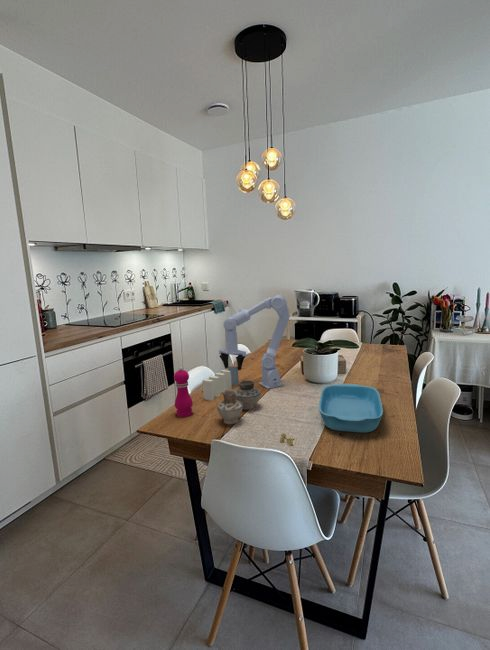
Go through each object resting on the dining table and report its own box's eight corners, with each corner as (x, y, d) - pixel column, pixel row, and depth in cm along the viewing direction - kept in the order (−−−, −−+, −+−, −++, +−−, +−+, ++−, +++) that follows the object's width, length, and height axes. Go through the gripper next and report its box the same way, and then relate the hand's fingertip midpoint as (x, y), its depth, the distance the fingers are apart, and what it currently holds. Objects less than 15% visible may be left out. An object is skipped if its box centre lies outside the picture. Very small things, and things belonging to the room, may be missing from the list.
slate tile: (230, 383, 177) (229, 366, 175) (238, 384, 175) (237, 367, 173) (228, 384, 175) (227, 367, 174) (236, 385, 173) (235, 368, 171)
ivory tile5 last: (206, 397, 159) (204, 378, 158) (214, 399, 157) (213, 380, 155) (203, 399, 158) (202, 380, 156) (212, 400, 155) (210, 381, 154)
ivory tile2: (223, 387, 171) (222, 369, 170) (231, 388, 169) (230, 370, 167) (221, 388, 170) (220, 370, 168) (229, 390, 168) (228, 371, 166)
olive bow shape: (291, 447, 115) (291, 442, 114) (277, 444, 117) (277, 439, 117) (296, 440, 119) (296, 435, 119) (282, 437, 121) (282, 432, 121)
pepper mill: (197, 413, 143) (193, 366, 140) (182, 419, 138) (178, 370, 135) (186, 408, 148) (182, 363, 145) (171, 414, 143) (167, 367, 139)
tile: (218, 390, 167) (217, 372, 166) (226, 392, 165) (225, 373, 163) (216, 392, 166) (214, 373, 164) (224, 393, 163) (223, 374, 162)
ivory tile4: (212, 394, 163) (211, 375, 162) (220, 395, 161) (219, 376, 159) (210, 395, 162) (208, 376, 160) (218, 397, 159) (217, 378, 158)
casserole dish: (323, 396, 155) (323, 380, 154) (376, 399, 149) (377, 383, 148) (316, 436, 120) (316, 417, 119) (386, 443, 114) (386, 422, 113)
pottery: (211, 424, 133) (209, 394, 131) (241, 400, 155) (240, 374, 153) (238, 429, 128) (236, 398, 126) (265, 403, 150) (264, 376, 148)
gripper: (248, 341, 171) (249, 368, 173) (223, 339, 178) (225, 365, 181) (241, 344, 165) (242, 372, 167) (215, 342, 172) (217, 369, 175)
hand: (233, 368), depth 174 cm, fingers open, 7 cm apart
